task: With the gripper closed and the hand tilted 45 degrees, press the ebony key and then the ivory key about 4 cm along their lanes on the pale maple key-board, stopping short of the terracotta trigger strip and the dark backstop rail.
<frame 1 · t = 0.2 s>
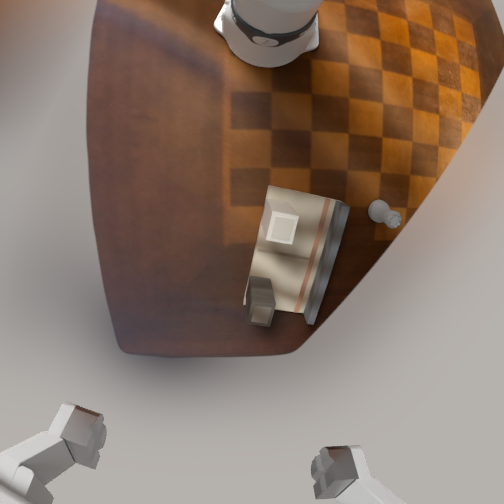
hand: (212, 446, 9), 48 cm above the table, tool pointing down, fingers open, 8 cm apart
ivory key: (278, 219, 49), point 6 cm above the table, slide at 0.0 cm
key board: (290, 253, 58), on the table
ebony key: (259, 300, 54), point 6 cm above the table, slide at 0.0 cm
rook chess piece: (376, 209, 56), on the table
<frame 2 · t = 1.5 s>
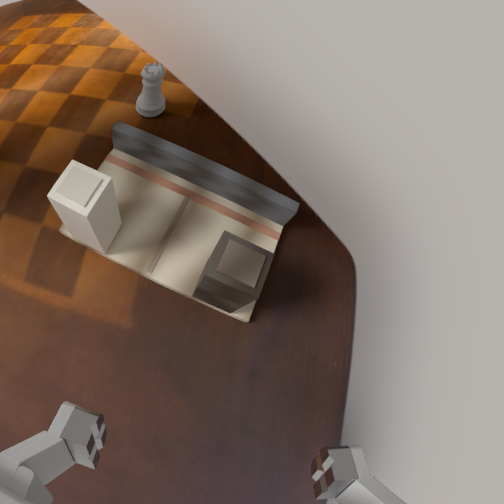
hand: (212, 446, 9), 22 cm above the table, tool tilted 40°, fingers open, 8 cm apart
ivory key: (88, 211, 26), point 6 cm above the table, slide at 0.0 cm
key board: (173, 225, 35), on the table
ebony key: (227, 277, 28), point 6 cm above the table, slide at 0.0 cm
rook chess piece: (150, 109, 39), on the table
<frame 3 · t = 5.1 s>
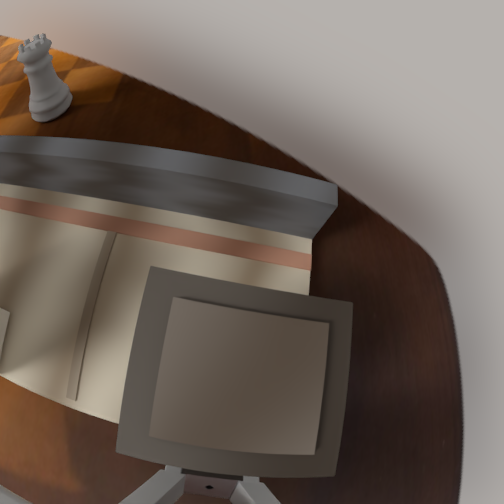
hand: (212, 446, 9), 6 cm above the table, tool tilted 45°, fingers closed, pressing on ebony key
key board: (100, 292, 16), on the table
ebony key: (223, 379, 10), point 6 cm above the table, slide at 1.6 cm, touching gripper
rook chess piece: (53, 110, 21), on the table
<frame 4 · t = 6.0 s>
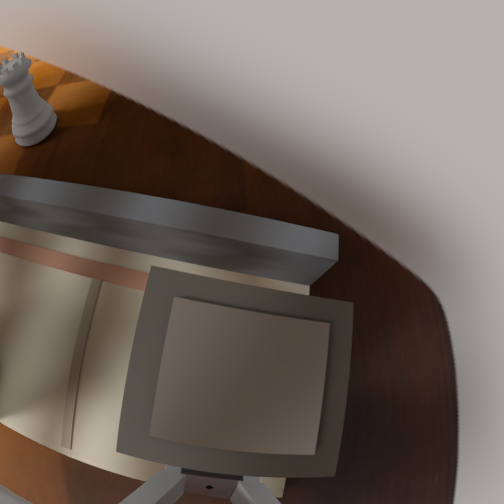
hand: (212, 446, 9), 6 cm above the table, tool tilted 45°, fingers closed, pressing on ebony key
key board: (88, 341, 15), on the table
ebony key: (223, 379, 10), point 6 cm above the table, slide at 4.7 cm, touching gripper
rook chess piece: (37, 132, 20), on the table
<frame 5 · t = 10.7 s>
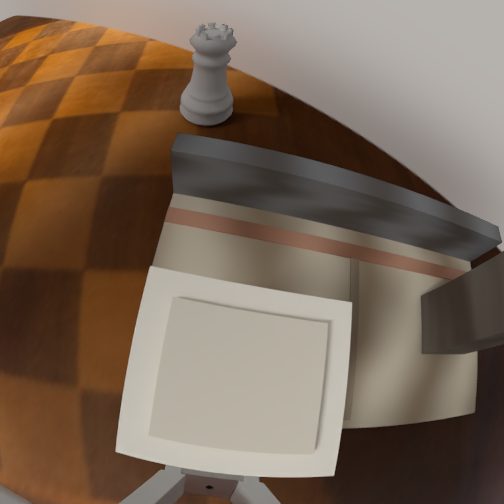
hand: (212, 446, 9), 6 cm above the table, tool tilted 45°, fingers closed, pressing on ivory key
ivory key: (223, 379, 10), point 6 cm above the table, slide at 0.3 cm, touching gripper
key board: (346, 315, 18), on the table
ebony key: (495, 307, 13), point 6 cm above the table, slide at 4.7 cm
rook chess piece: (205, 113, 23), on the table
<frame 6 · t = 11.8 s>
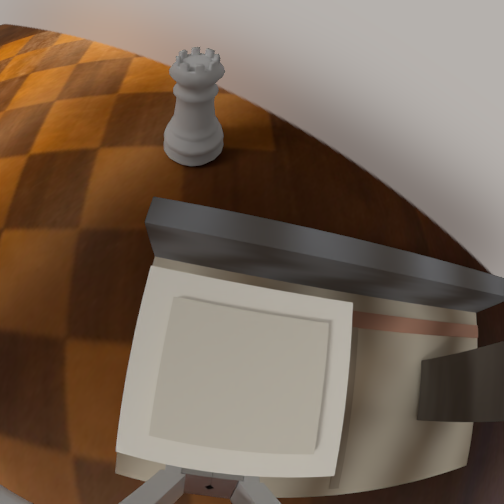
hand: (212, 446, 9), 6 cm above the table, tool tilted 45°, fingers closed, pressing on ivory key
ivory key: (223, 379, 10), point 6 cm above the table, slide at 4.7 cm, touching gripper
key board: (341, 385, 16), on the table
ebony key: (497, 382, 11), point 6 cm above the table, slide at 4.7 cm
rook chess piece: (193, 148, 22), on the table
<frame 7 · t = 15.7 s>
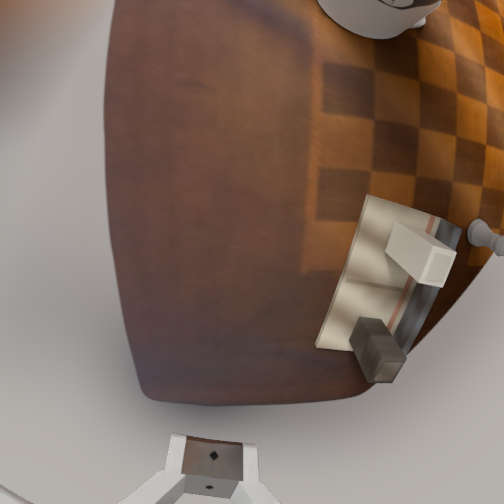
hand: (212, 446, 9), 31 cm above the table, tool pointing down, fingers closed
ivory key: (418, 252, 34), point 6 cm above the table, slide at 4.7 cm
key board: (381, 283, 42), on the table
ebony key: (375, 349, 39), point 6 cm above the table, slide at 4.7 cm
rook chess piece: (474, 230, 40), on the table
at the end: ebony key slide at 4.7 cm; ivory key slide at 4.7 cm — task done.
